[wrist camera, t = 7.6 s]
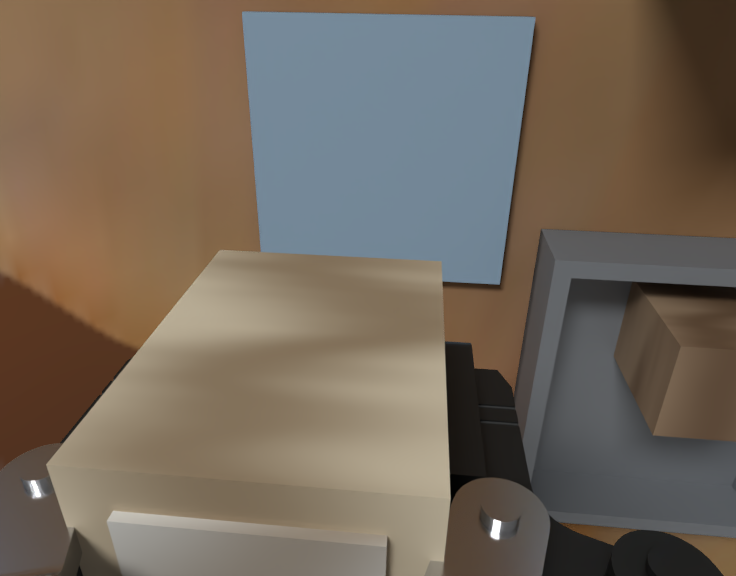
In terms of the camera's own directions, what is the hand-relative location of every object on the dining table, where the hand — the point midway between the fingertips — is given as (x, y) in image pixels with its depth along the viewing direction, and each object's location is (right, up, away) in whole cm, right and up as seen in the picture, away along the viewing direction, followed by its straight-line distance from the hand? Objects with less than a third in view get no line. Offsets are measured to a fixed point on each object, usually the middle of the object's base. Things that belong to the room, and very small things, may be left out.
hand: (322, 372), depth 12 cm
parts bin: (+16, -3, +19) cm, 25 cm away
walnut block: (+16, 0, +17) cm, 23 cm away
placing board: (+2, +8, +15) cm, 17 cm away
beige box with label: (0, 0, +1) cm, 1 cm away
